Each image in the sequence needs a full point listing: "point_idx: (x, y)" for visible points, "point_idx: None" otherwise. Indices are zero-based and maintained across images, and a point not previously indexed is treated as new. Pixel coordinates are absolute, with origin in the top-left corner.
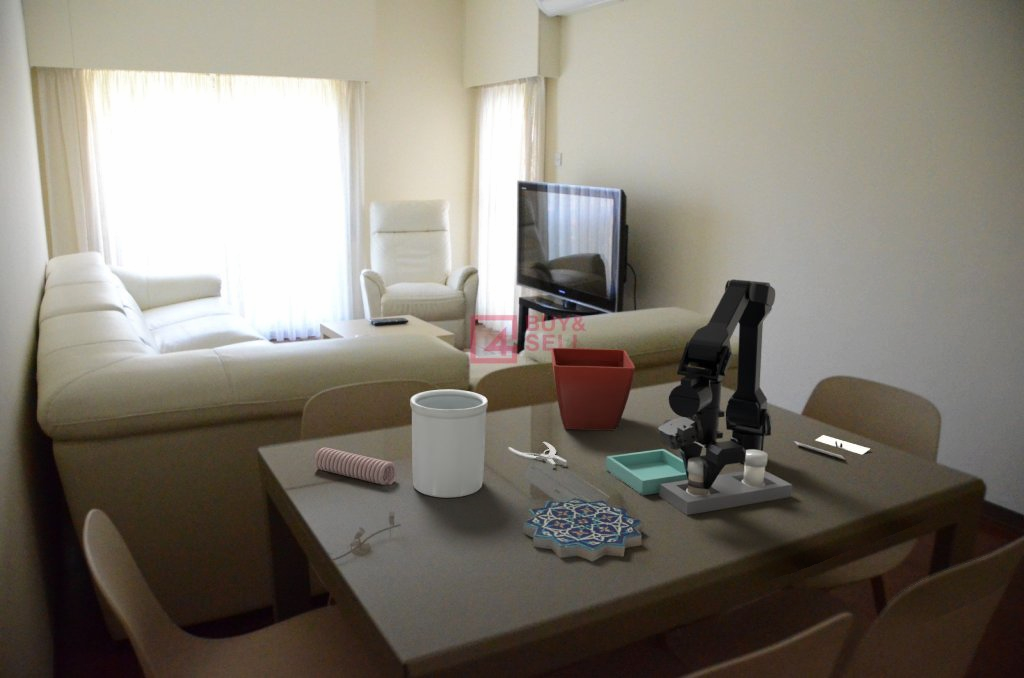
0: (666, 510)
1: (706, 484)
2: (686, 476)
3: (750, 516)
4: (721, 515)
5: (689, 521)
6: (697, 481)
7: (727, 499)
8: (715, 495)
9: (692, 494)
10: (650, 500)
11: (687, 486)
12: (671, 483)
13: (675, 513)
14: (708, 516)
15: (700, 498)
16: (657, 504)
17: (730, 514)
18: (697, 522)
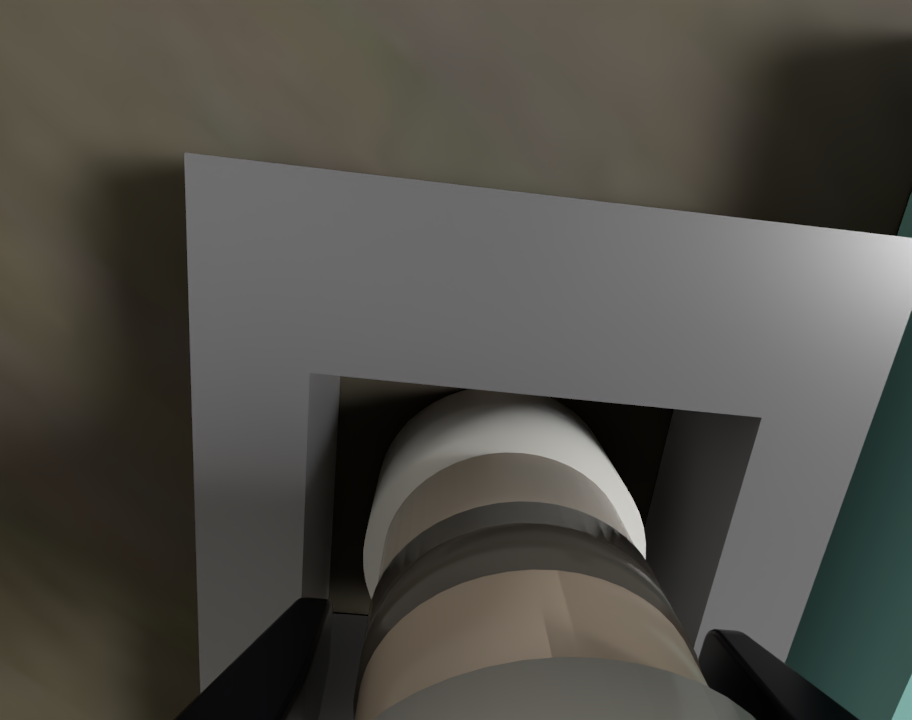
0: (467, 21)
1: (242, 659)
2: (865, 699)
3: (37, 674)
4: (131, 482)
5: (97, 66)
6: (417, 616)
7: None
8: (248, 630)
9: (464, 451)
10: (794, 41)
11: (692, 560)
12: (838, 406)
13: (350, 67)
14: (150, 357)
15: (240, 417)
16: (659, 40)
17: (125, 564)
18: (46, 138)
